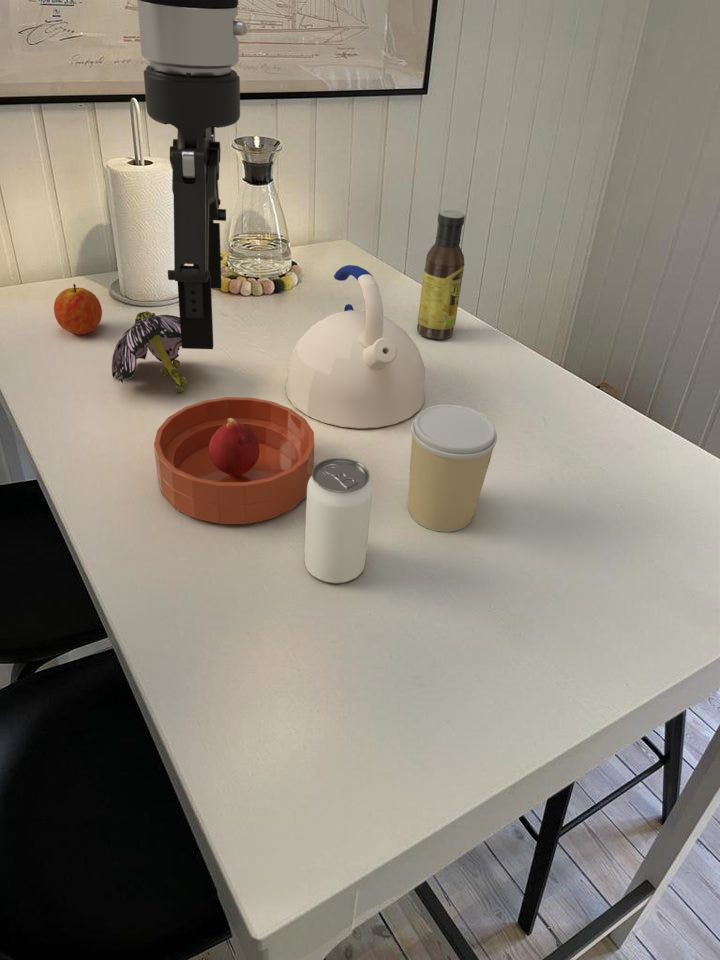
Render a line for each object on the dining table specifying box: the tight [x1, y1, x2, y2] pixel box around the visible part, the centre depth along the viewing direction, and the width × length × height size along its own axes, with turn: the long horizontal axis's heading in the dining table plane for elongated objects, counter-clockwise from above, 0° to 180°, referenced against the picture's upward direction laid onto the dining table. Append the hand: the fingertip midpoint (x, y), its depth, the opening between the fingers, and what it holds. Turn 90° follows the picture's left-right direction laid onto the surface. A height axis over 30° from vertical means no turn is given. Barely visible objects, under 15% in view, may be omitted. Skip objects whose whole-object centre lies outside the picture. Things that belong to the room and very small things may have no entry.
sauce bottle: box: [416, 209, 466, 340], centre depth 121 cm, size 6×6×20 cm
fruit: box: [53, 283, 103, 336], centre depth 116 cm, size 7×7×8 cm
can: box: [304, 457, 373, 585], centre depth 77 cm, size 6×6×12 cm
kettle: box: [284, 264, 426, 430], centre depth 104 cm, size 20×21×18 cm
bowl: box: [153, 396, 316, 525], centre depth 89 cm, size 18×18×6 cm
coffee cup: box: [407, 404, 498, 533], centre depth 85 cm, size 9×9×12 cm
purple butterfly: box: [111, 311, 189, 394], centre depth 105 cm, size 14×12×15 cm
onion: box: [209, 418, 259, 477], centre depth 88 cm, size 6×6×8 cm
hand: (203, 315), depth 72 cm, fingers open, 13 cm apart
